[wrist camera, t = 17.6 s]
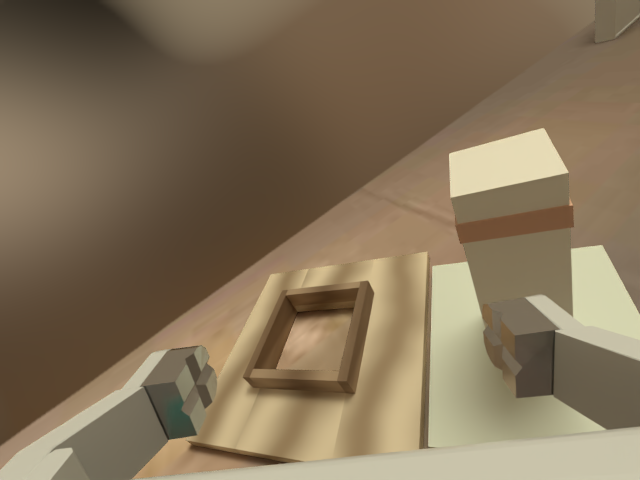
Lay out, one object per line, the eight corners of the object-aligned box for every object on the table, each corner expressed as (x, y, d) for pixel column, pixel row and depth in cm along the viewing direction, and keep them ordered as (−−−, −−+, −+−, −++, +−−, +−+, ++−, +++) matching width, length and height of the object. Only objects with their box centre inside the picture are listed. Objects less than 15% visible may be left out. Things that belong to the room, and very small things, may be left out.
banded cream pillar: (492, 364, 22) (448, 199, 15) (486, 309, 26) (447, 153, 19) (577, 365, 20) (572, 173, 13) (558, 305, 24) (545, 126, 16)
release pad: (431, 451, 21) (428, 446, 20) (434, 272, 32) (432, 266, 32) (727, 491, 15) (731, 484, 14) (601, 252, 26) (602, 245, 26)
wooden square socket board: (193, 445, 29) (172, 431, 28) (274, 279, 43) (264, 264, 42) (422, 487, 20) (409, 469, 18) (429, 258, 34) (422, 238, 33)
